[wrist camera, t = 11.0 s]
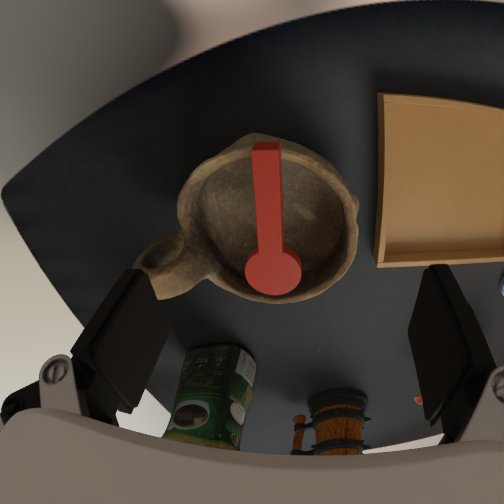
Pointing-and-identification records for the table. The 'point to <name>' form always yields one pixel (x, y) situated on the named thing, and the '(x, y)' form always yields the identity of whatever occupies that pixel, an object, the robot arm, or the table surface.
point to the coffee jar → (213, 397)
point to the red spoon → (270, 226)
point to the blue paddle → (502, 286)
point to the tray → (438, 182)
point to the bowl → (244, 225)
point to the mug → (334, 423)
